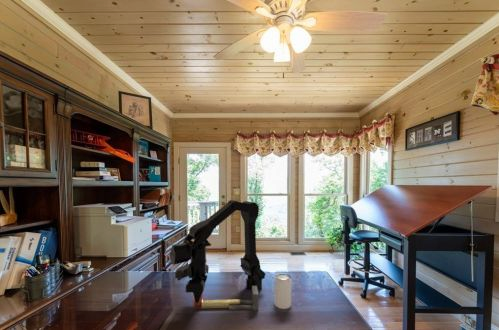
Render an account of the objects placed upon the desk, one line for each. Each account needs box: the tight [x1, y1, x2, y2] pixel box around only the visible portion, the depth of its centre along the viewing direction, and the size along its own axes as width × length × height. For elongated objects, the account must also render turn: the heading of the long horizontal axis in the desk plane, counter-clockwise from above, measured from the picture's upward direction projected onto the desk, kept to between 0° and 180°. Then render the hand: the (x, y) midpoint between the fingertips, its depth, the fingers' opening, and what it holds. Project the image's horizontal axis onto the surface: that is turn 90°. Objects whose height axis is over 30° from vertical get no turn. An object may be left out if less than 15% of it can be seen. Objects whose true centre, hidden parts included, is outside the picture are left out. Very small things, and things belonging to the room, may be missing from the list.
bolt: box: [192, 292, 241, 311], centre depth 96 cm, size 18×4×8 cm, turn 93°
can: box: [273, 273, 292, 310], centre depth 98 cm, size 6×6×12 cm
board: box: [228, 286, 259, 312], centre depth 96 cm, size 27×11×7 cm, turn 93°
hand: (198, 299), depth 95 cm, fingers closed on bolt, 4 cm apart
